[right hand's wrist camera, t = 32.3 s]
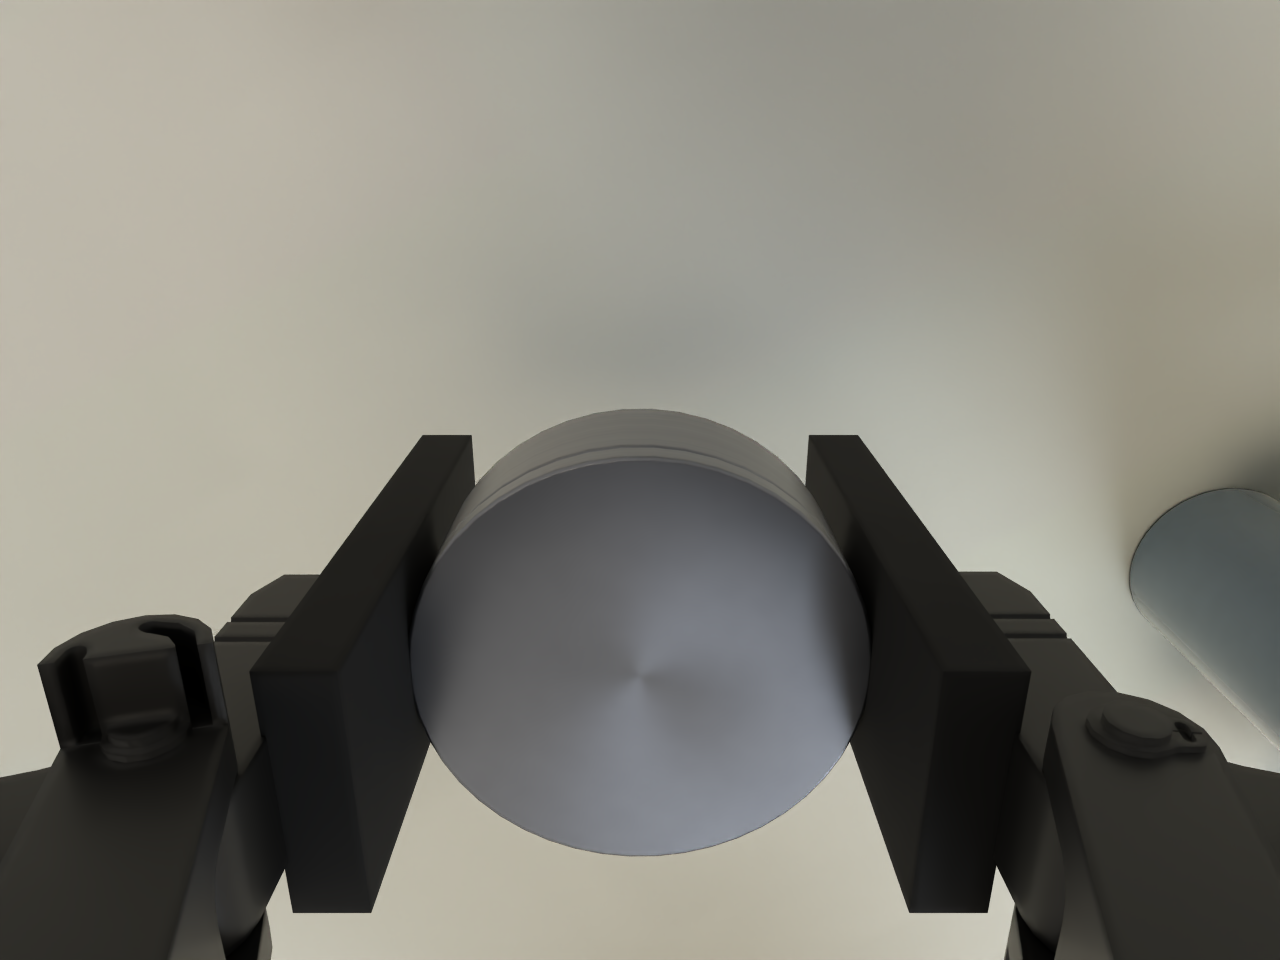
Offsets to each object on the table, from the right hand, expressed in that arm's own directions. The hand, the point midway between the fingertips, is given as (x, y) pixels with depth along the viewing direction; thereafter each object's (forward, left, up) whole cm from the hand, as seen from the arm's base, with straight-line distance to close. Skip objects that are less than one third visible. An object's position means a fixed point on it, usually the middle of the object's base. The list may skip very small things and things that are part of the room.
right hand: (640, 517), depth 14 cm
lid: (0, 0, +4) cm, 4 cm away
